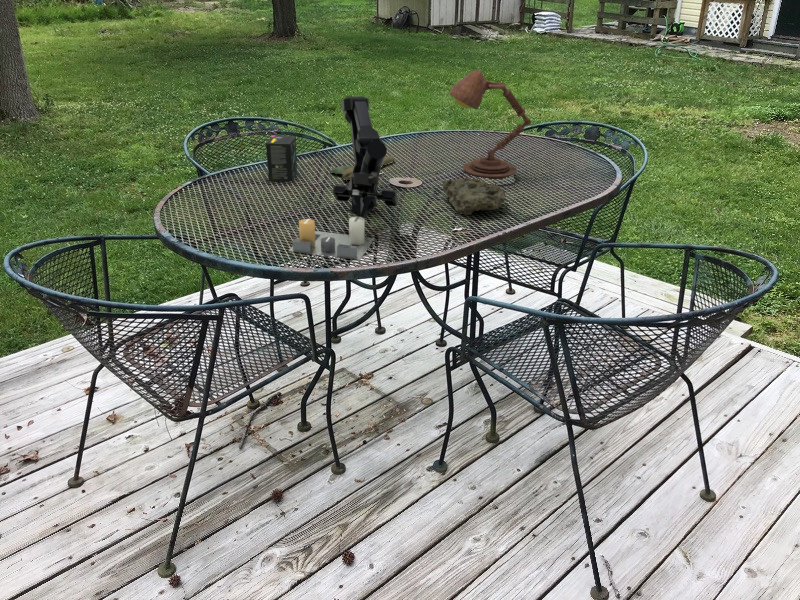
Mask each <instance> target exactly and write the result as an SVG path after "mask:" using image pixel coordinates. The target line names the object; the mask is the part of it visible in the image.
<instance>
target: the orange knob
mask: <svg viewBox="0 0 800 600" xmlns="http://www.w3.org/2000/svg"><path fill="white" fill-rule="evenodd" d="M315 223H316V222H315V220H314V219H311V218H304V219H300V220H299V221H298V230H299V231H298V233H299V234H298V235H299V239H301V240H309V241H313V247H314V246H315V231H316V226H315V225H316V224H315Z"/></svg>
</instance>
